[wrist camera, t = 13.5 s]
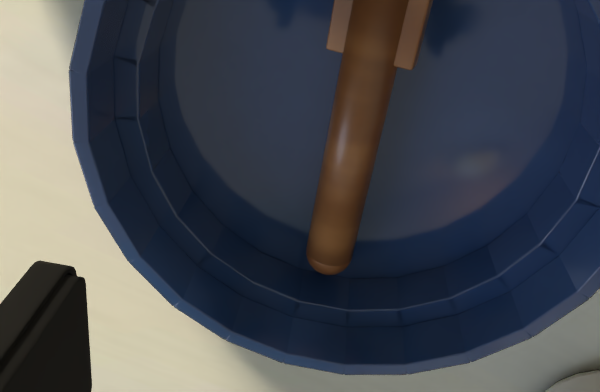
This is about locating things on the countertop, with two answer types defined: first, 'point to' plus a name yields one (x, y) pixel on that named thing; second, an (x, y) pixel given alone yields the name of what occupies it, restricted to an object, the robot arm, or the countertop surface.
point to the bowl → (383, 185)
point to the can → (578, 383)
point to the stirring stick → (359, 116)
